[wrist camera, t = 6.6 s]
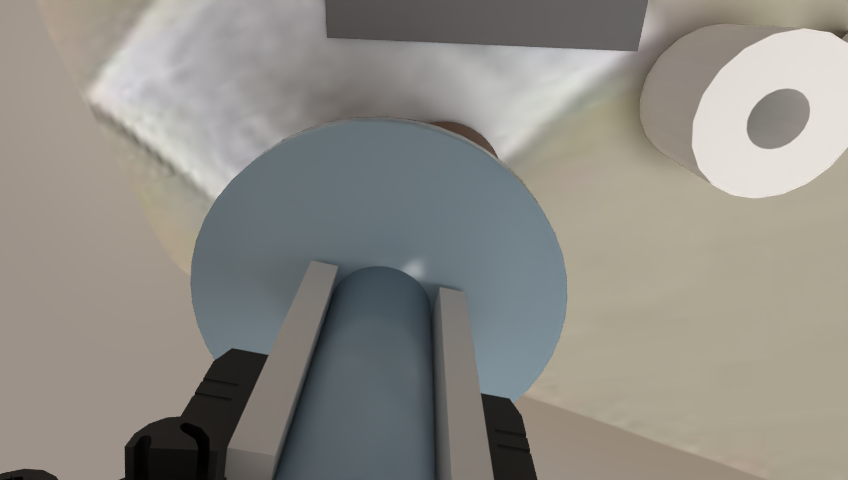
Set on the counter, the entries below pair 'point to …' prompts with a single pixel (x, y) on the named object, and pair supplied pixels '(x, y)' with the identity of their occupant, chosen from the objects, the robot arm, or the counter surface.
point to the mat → (492, 22)
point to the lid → (379, 282)
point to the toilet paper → (750, 106)
